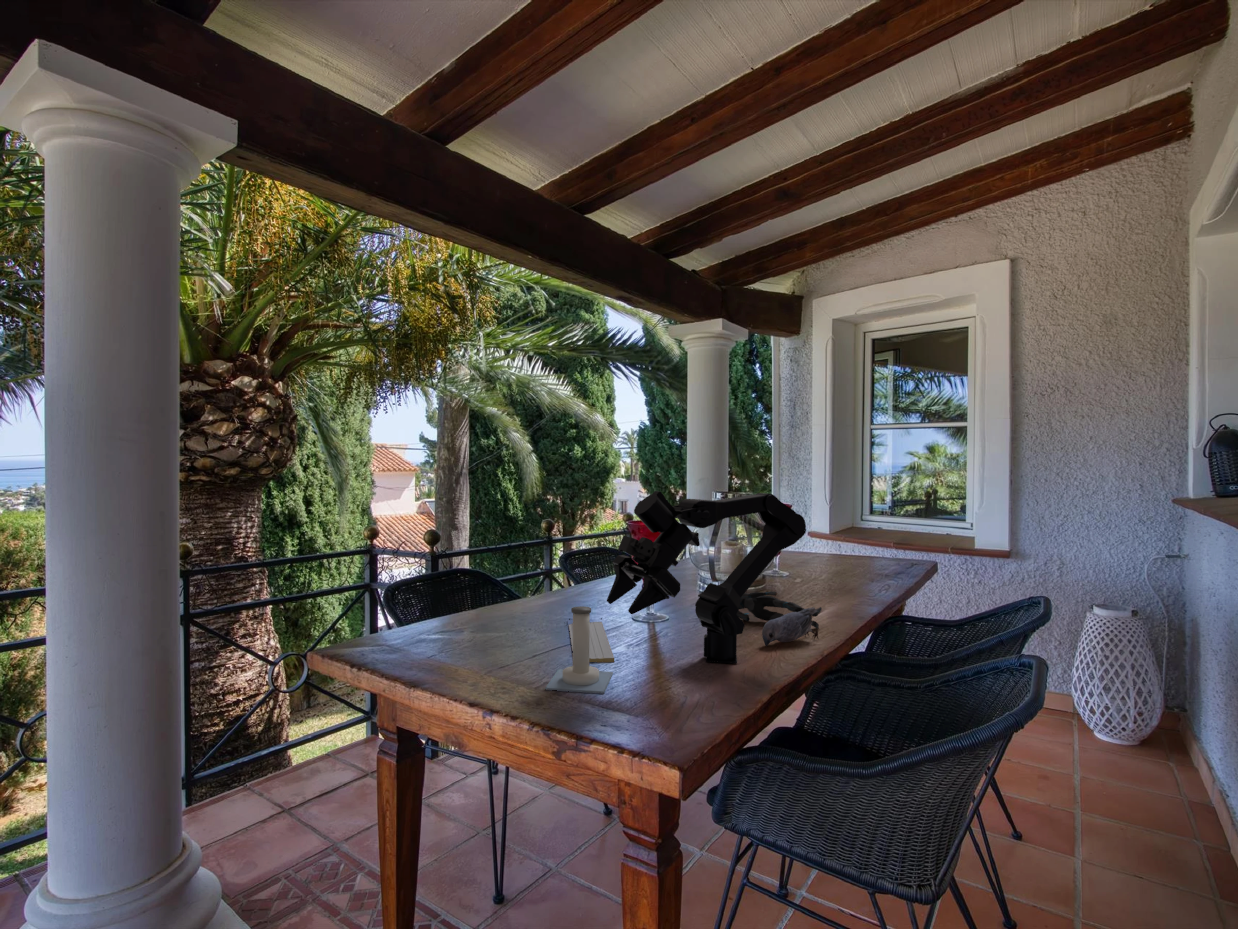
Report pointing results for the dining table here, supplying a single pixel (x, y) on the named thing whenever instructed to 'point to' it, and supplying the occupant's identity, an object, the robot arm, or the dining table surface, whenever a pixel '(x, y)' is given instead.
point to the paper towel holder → (581, 651)
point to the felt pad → (597, 687)
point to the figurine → (759, 601)
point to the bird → (789, 627)
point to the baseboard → (596, 643)
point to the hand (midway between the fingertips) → (618, 607)
